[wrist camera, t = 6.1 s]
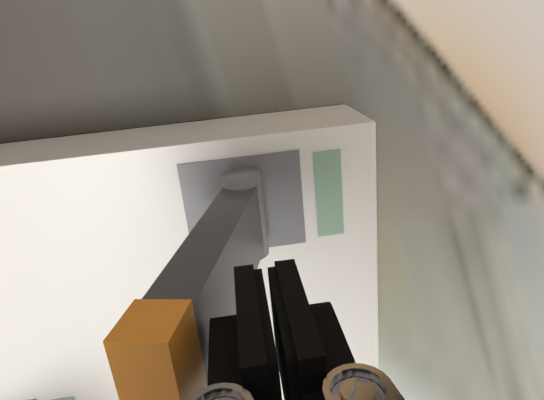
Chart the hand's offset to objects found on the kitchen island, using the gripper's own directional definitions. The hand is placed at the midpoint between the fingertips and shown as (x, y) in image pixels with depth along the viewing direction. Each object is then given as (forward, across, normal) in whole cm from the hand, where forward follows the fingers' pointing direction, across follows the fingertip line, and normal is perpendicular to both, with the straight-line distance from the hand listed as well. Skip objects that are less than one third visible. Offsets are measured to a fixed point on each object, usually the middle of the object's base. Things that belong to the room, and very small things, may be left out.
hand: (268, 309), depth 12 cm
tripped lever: (+7, 0, 0) cm, 7 cm away
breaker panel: (+13, +6, +5) cm, 15 cm away
